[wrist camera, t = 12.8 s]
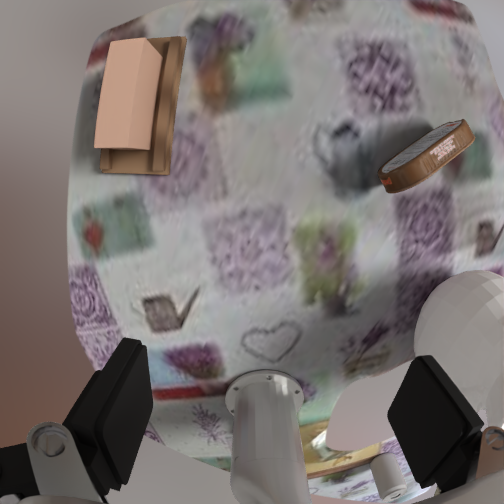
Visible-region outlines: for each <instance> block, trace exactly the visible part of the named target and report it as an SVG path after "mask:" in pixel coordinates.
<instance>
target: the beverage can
mask: <svg viewBox="0 0 504 504" xmlns="http://www.w3.org/2000/svg"><path fill="white" fill-rule="evenodd" d="M370 468H371V471H372V474H373V477H374V480H375V483H376V486H377V489H378V492H379V496H380V498H381V499H383V501H384V502H389V501H392V500H395V499H397V498H399V497H401V496H403V495H404V494H405V493H406V492H407V489H406V488H407V484H406V482H405V479H404V477H403V474H402V472H401V469H400V467H399V464H398V462H397V459H396V457H395V455H394V454H392V453H384V454H381V455H379V456H377V457H375V458H374V459H373V461H372V462H371V463H370Z"/></svg>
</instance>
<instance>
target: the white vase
mask: <svg viewBox="0 0 504 504" xmlns="http://www.w3.org/2000/svg"><path fill="white" fill-rule="evenodd" d="M414 352H415V356H416V357H417V356H423V355H432V356H433V357H434V358H435V360H436V361H437V362H438V363H439V365H440V366H441V367H442V368H443V370H444V371H445V372H446V373H447V375H448V376H449V377H450V378H451V380H452V381H453V382H454V384H455V385H456V386H457V387H458V389H459V390H460V391H461V393H462V394H463V395H464V397H465V398H466V399H467V401H468V402H469V403H470V405H471V406H472V407H473V409H474V410H475V411H476V413H478V411H479V410H480V409H486V414H487V422H488V427H489V426H497V427H500V428H502V429H503V430H504V277H502V276H500V275H498V274H495V273H493V272H490V271H480V270H473V271H466V272H463V273H460V274H457V275H455V276H453V277H450V278H448V279H447V280H445V281H444V282H442V283H441V284H439V285H438V286H437V287H436V288H435V289H434V290H433V291H432V292H431V294H430V295H429V297H428V298H427V300H426V301H425V303H424V305H423V307H422V309H421V312H420V315H419V318H418V321H417V324H416V329H415V333H414Z"/></svg>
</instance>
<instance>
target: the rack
mask: <svg viewBox="0 0 504 504" xmlns="http://www.w3.org/2000/svg"><path fill="white" fill-rule="evenodd" d="M147 40H148V41H149V42H150V44H151V45H152V46H153V47H154V48H155V49H156V50H157V51H158V53H159V54H160V55H161V56H162V57H163V62H162V67H161V73H160V79H159V85H158V92H157V98H156V106H155V113H154V121H153V130H152V139H151V149H150V150H119V149H103V148H101V156H100V169H102V173H135V174H160V175H170V163H171V152H172V141H173V132H174V123H175V114H176V106H177V99H178V91H179V84H180V78H181V71H182V65H183V59H184V53H185V48H186V42H187V39H186V37H180V36H177V37H165V38H151V39H147Z"/></svg>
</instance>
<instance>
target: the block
mask: <svg viewBox="0 0 504 504" xmlns="http://www.w3.org/2000/svg"><path fill="white" fill-rule="evenodd" d="M162 62H163V57H162V56H161V55H160V54H159V53H158V51H157V50H156V49H155V48H154V47H153V46H152V45H151V44H150V42H149V41H148V40H147V39H146V38H136V39H127V40H119V41H112V42H111V44H110V48H109V52H108V57H107V62H106V66H105V71H104V77H103V82H102V88H101V94H100V100H99V107H98V114H97V122H96V131H95V141H94V148H103V149H119V150H150V149H151V139H152V130H153V121H154V113H155V106H156V98H157V92H158V85H159V79H160V73H161V67H162Z"/></svg>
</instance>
